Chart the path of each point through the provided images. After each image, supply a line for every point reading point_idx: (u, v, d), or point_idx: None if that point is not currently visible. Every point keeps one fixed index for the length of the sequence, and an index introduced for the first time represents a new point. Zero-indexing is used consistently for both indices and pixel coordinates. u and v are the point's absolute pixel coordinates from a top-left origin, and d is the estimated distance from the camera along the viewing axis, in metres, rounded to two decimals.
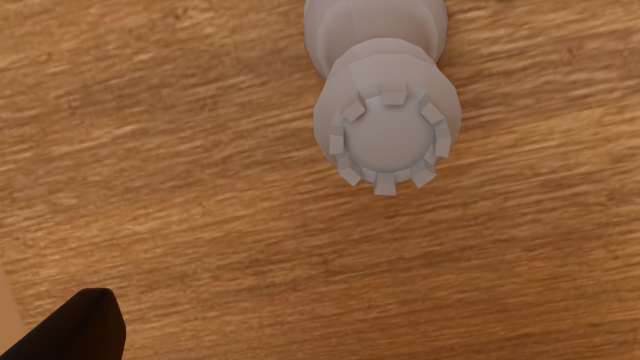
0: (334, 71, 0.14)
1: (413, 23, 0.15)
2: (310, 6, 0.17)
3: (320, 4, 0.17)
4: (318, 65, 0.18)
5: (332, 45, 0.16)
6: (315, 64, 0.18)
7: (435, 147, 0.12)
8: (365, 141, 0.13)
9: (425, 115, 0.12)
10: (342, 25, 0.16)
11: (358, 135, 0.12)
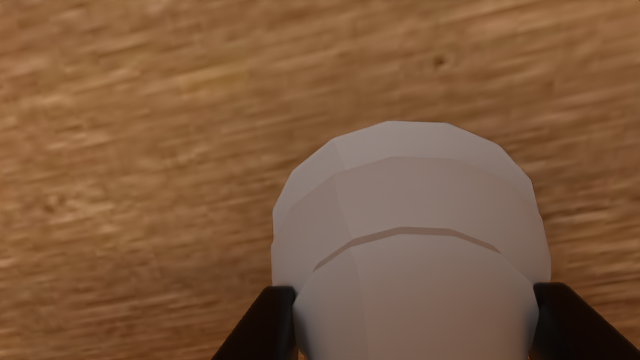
0: None
1: (502, 336, 0.07)
2: (281, 234, 0.09)
3: (299, 243, 0.08)
4: None
5: None
6: None
7: None
8: None
9: None
10: (342, 327, 0.07)
11: None
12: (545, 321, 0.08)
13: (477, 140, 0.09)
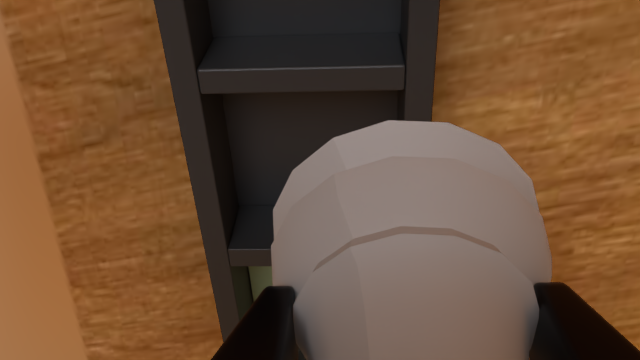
0: None
1: (503, 335, 0.07)
2: (281, 233, 0.09)
3: (299, 242, 0.08)
4: None
5: None
6: None
7: None
8: None
9: None
10: (343, 326, 0.07)
11: None
12: (545, 321, 0.08)
13: (478, 140, 0.09)
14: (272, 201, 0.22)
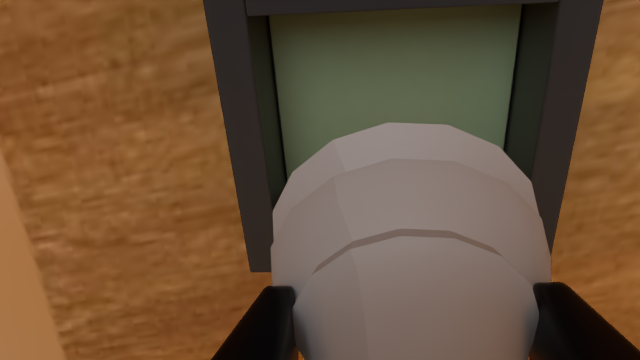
0: None
1: (502, 339, 0.07)
2: (281, 235, 0.09)
3: (298, 245, 0.08)
4: None
5: None
6: None
7: None
8: None
9: None
10: (342, 330, 0.07)
11: None
12: (545, 321, 0.08)
13: (477, 142, 0.09)
14: None
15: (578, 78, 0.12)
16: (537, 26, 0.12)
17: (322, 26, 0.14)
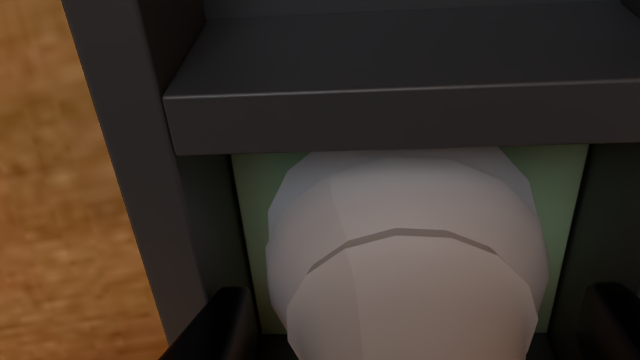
0: None
1: (498, 339, 0.07)
2: (276, 235, 0.09)
3: (293, 244, 0.08)
4: None
5: None
6: (287, 329, 0.09)
7: None
8: None
9: None
10: (336, 329, 0.07)
11: None
12: (603, 320, 0.08)
13: None
14: (293, 3, 0.08)
15: None
16: (630, 153, 0.08)
17: None
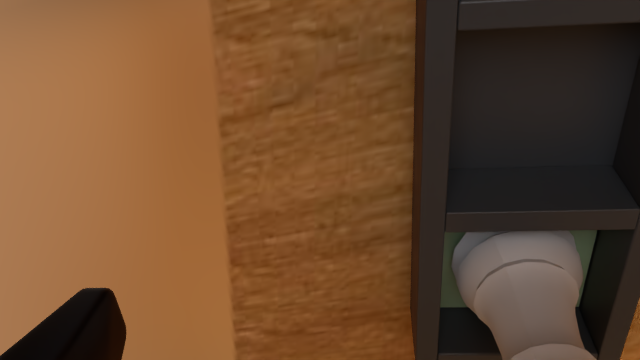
0: None
1: (566, 300, 0.18)
2: (466, 260, 0.20)
3: (478, 264, 0.20)
4: (468, 303, 0.21)
5: (496, 313, 0.19)
6: (466, 301, 0.21)
7: None
8: None
9: None
10: (505, 297, 0.19)
11: None
12: None
13: None
14: (476, 164, 0.20)
15: None
16: None
17: None
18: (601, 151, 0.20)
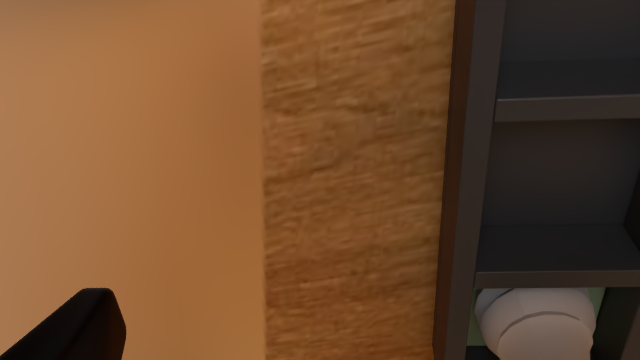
0: None
1: (583, 350, 0.20)
2: (490, 309, 0.22)
3: (501, 314, 0.22)
4: (490, 347, 0.23)
5: None
6: (488, 345, 0.23)
7: None
8: None
9: None
10: (527, 347, 0.21)
11: None
12: None
13: None
14: (499, 222, 0.22)
15: None
16: None
17: None
18: (613, 212, 0.22)
